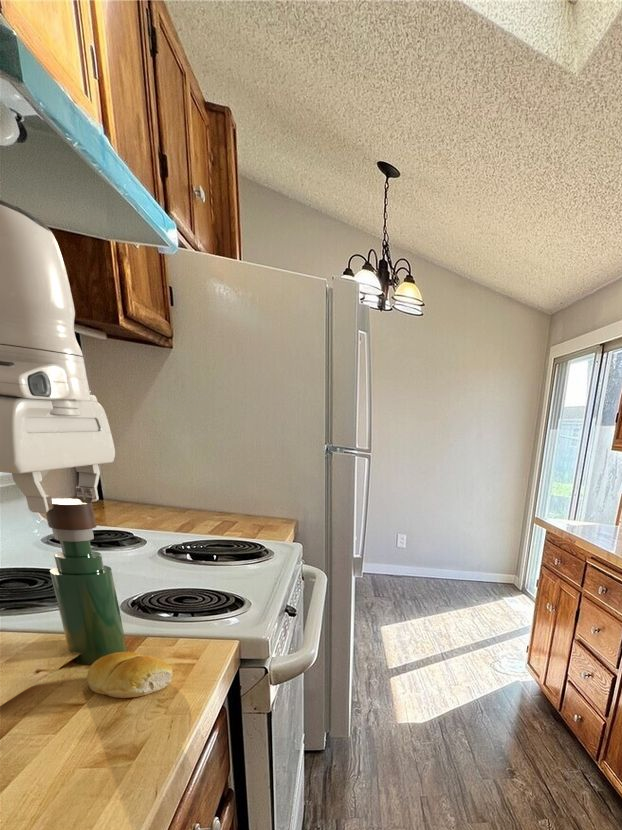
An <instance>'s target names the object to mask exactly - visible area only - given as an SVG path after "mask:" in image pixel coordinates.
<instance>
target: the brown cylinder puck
mask: <svg viewBox="0 0 622 830" xmlns="http://www.w3.org/2000/svg"><path fill="white" fill-rule="evenodd" d="M52 505H53V507H54V509H53V511H50V512H46V513H45V517H46V521H47V526H48V528H50V529H52V528H53V529H60V530H85V529H92V530H93V529H95V528H97V525H98V524H97V520H96V515H95V511H94V510H95V509H94V506H93V502H91V501H88V500H82V499H78V498H52Z"/></svg>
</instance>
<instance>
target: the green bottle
mask: <svg viewBox="0 0 622 830" xmlns="http://www.w3.org/2000/svg"><path fill="white" fill-rule="evenodd" d="M51 530H52V534H53V539H54V540H56V541H59V543H60V547H61V550H62V551H59V552H56V553H54V557H53V558H54V560H55V561H54V562H55V566H56V567H53V568H50V570H49V574H50V579H51V582H52V588H53V590H54V595H55V599H56V603H57V608H58V611H59V616H60V620H61V624H62V625H61V626H62V628H63V632H64V638H65V641H66V645H67V649H68V650H69V651H70V652H72V653H77V654H78V655H77V656H75V657H74V658H72V659H71V661H72V662H73V663H75V664H80V665H92V664H93V663H94V662H95V661H96V660H98V659H99V658H101V657H103V656H106V655H109V654H112V653H116V652H128V647H127V641H126V637H125V631H124V626H123V621H122V616H121V612H120V611H121V610H120V605H119V600H118V595H117V590H116V586H115V585H116V584H115V580H114V575H113V574H114V573H113V570H112V568H111V567H110V566H108V565H104V562H103V556H102V553H101V552H98V551H94V550H93V549H92V545H91V541H93V540H94V539H95V536H94V530H93V528H92V529H85V530H60V529H53V528H51Z"/></svg>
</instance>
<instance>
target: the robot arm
mask: <svg viewBox="0 0 622 830" xmlns="http://www.w3.org/2000/svg"><path fill="white" fill-rule="evenodd" d="M67 272H68V271H67V268H66V265H65V262H64V258H63V255H62V252H61V248H60V246H59V244H58V241H57V239H56V237H55V235H54V233H53V232H52V230H51V229H50V228H49V227H48V226H47V224H45V222H43V221H42V220H41V219H39V218H38V217H37V216H35V215H33V214H32V213H30V212H29V211H27V210H26V209H24V208H23V209H22V208H21V207H18V206H17V205H14V204H11V203H8V202H7V201H5V200H3V199H0V473H7V474H11V476H12V480H13V482H14V483H15V485H16V486H17V488H18V489H19V490H20V491H21V493H22V494H23V495H24V497H25V499H26V503H27V506H28V510H29V511H30V512H32V513H37V514H46V512H50V511H53V509H54V507H53V505H52V499H53V498H52V495H47V494H46V492H45V490H44V488H43V487H42V485H41V482H43V477H42V476H43V475H42V472H46V471H55V470H62V469H63V470H64V469H71V468H75V472H77V473H78V486H75V492H76V497H77V498H76V499H82V500H88V501H91V502H92V503H94V502H98V501H99V498H100V497H99V493H98V485H99V480H100V476H101V475H100V474H101V471H100V465H103V464H110V463H111V464H112V463H114V461H115V457H116V449H115V443H114V439H113V434H112V431H111V426H110V423H109V419H108V416H107V414H106V411H105V408H104V407H103V406H102V404H100V402H98V398H97V397H96V395H94V394H93V392H92V391H91V389H90V386H89V381H88V376H87V370H86V365H85V359H84V355H83V354H84V353H83V351H82V348H81V346H80V345H79V343H78V340H77V337H76V333H75V332H76V331H75V320H76V319H75V317H76V309H75V304H74V303H75V302H74V299H73V294H72V290H71V285H70V281H69V276H68V273H67Z"/></svg>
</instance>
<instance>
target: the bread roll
mask: <svg viewBox="0 0 622 830" xmlns="http://www.w3.org/2000/svg"><path fill="white" fill-rule="evenodd" d="M172 679H173V668H172V667H171V664H169V663H168V662H166V661H165V660H163V659H162V658H158V657H156V656H154V655H146V654H145V655H144V654H143V655H142V654H140V653H139V652H135V651H127V652H116V653H112V654H109V655H106V656H103V657H101V658H99V659H98V660H96V661H95V662H94V663H93V664H90V666H89V668H88V671H87V674H86V682H87V684H88V687H89V688H90V690H91V691H93V692H94V693H96V694H99V695H104V696H109V697H112V698H116V699H117V698H120V699H131V698H138V697H144V696H146V695H150V694H152V693H156V692H158V691H161V690H163V689H164V688H166V687H168V686H169V685H170V684H171V683H172Z"/></svg>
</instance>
